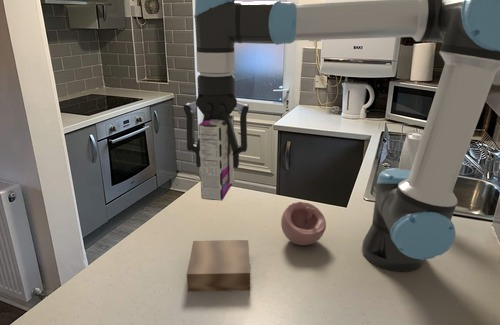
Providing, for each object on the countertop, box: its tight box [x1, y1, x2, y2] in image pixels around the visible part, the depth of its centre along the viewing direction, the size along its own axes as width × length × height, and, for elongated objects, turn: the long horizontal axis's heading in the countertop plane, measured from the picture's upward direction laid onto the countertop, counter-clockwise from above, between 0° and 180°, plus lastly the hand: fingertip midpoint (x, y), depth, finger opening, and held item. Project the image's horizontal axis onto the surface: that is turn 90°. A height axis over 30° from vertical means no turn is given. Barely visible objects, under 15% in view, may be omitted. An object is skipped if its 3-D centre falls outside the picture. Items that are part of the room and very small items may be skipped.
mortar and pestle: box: [280, 201, 327, 246], centre depth 104 cm, size 12×12×11 cm
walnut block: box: [186, 239, 251, 293], centre depth 92 cm, size 14×14×5 cm
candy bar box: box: [197, 113, 235, 201], centre depth 83 cm, size 11×5×16 cm, turn 169°
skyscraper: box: [398, 130, 423, 171], centre depth 119 cm, size 8×8×28 cm
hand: (218, 180), depth 84 cm, fingers closed on candy bar box, 5 cm apart
